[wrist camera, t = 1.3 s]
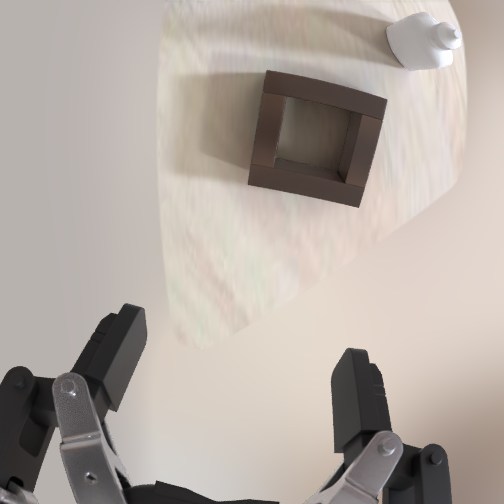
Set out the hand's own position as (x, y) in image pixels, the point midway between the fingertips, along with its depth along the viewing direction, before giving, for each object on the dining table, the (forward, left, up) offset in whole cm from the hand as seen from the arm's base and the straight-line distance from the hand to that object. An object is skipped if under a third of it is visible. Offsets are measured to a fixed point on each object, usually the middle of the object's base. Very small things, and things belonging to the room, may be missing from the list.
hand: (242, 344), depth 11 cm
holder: (-5, +4, -25) cm, 26 cm away
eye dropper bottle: (-18, +12, -25) cm, 33 cm away
